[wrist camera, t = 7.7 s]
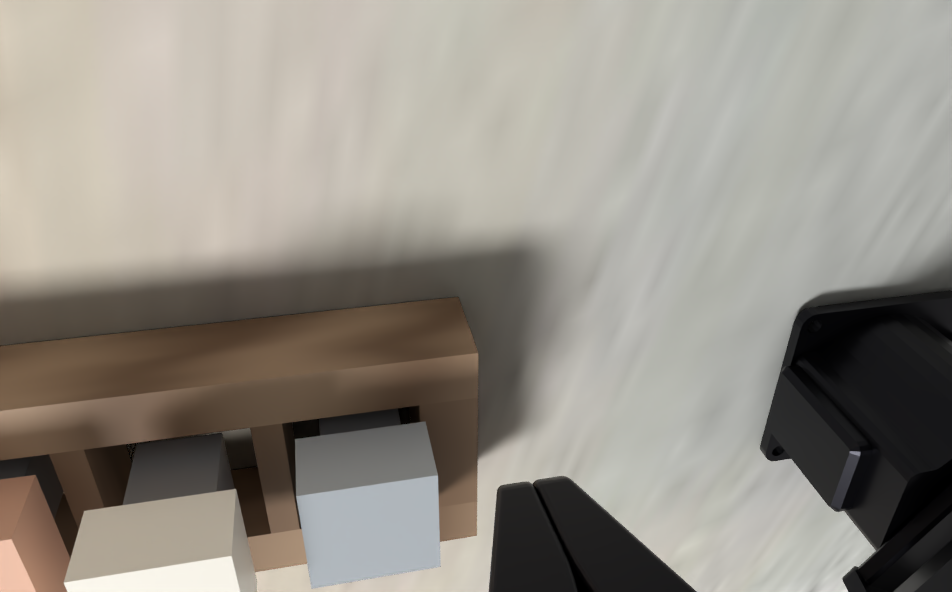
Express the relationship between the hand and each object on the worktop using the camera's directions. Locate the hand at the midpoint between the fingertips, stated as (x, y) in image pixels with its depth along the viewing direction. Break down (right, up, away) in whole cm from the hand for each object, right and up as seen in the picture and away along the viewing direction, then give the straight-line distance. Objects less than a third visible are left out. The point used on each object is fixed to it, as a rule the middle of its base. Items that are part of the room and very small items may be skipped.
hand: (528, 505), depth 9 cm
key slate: (-4, -1, +14) cm, 15 cm away
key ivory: (-9, -2, +12) cm, 15 cm away
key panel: (-9, -1, +14) cm, 16 cm away
